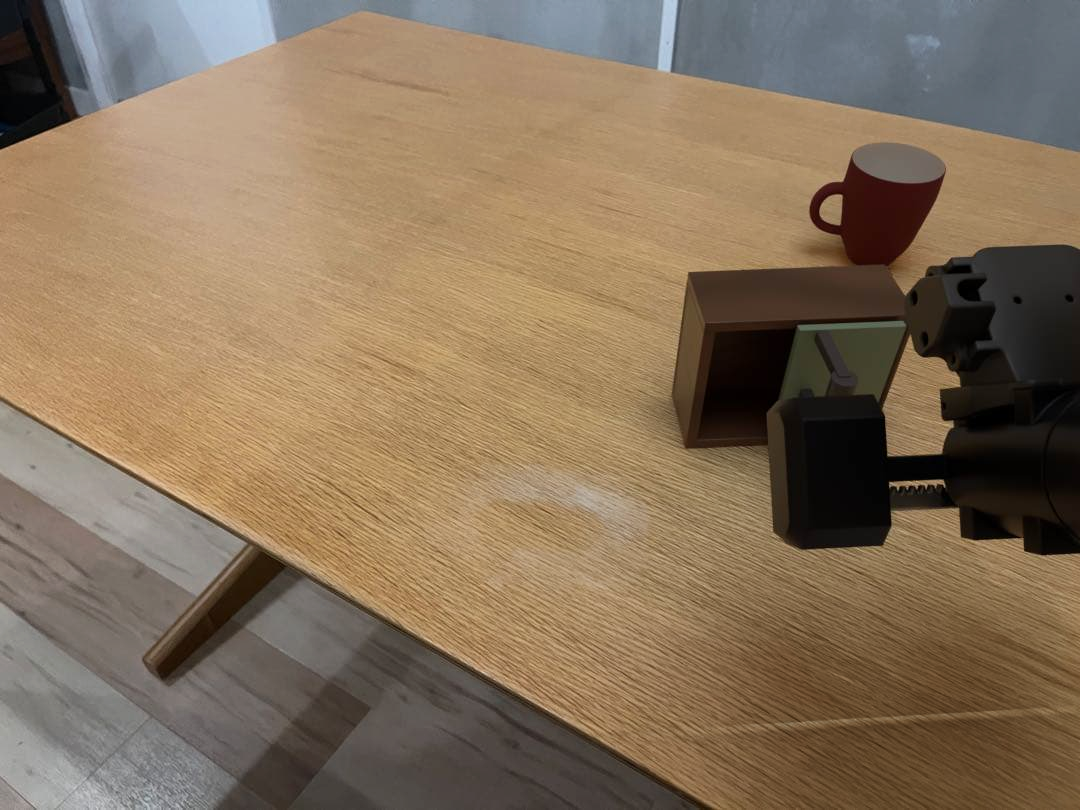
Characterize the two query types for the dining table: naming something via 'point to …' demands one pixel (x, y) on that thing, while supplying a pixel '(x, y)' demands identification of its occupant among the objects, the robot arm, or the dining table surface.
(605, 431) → the dining table surface
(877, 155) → the mug
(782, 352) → the cabinet
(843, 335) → the door
